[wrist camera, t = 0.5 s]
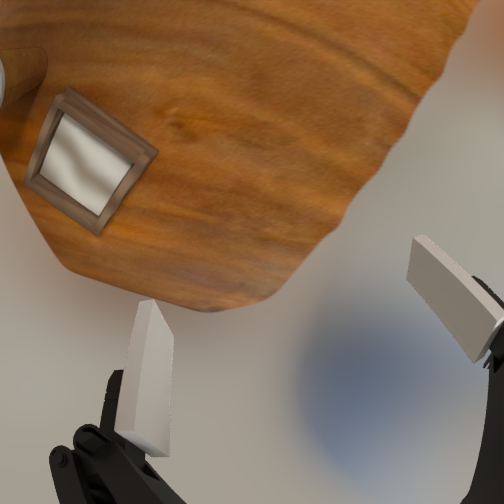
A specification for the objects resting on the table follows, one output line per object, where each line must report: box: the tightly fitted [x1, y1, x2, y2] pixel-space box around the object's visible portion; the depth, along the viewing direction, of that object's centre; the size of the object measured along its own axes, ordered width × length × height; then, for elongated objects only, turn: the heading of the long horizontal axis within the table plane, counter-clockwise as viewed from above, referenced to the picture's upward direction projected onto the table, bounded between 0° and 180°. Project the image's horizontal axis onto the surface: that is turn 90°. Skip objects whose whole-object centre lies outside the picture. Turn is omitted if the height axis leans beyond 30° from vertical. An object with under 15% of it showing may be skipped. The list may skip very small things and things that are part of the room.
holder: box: [24, 86, 159, 236], centre depth 31 cm, size 16×16×4 cm
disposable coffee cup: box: [0, 47, 48, 111], centre depth 17 cm, size 10×10×12 cm
